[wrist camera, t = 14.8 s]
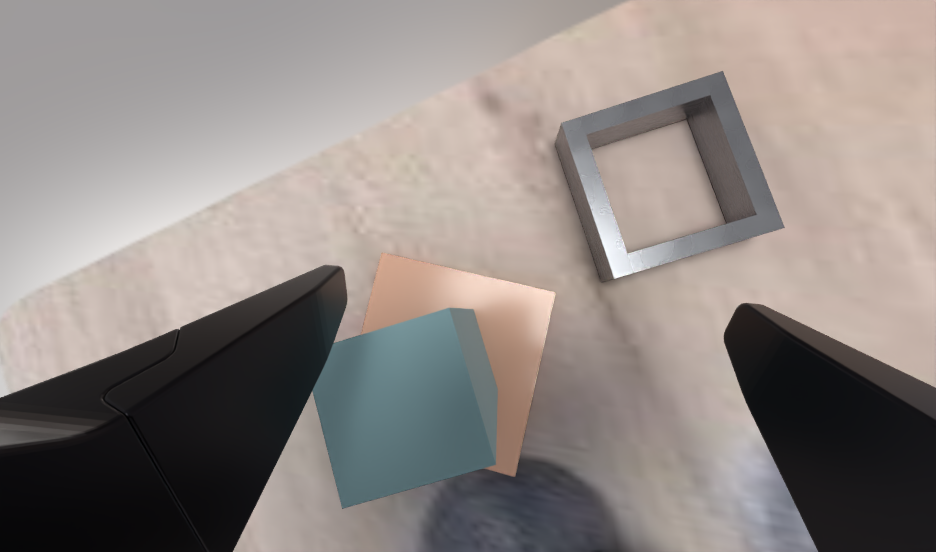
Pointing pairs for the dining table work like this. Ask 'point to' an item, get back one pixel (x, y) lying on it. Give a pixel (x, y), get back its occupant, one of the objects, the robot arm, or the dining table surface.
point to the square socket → (721, 154)
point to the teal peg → (408, 405)
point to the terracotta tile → (500, 322)
